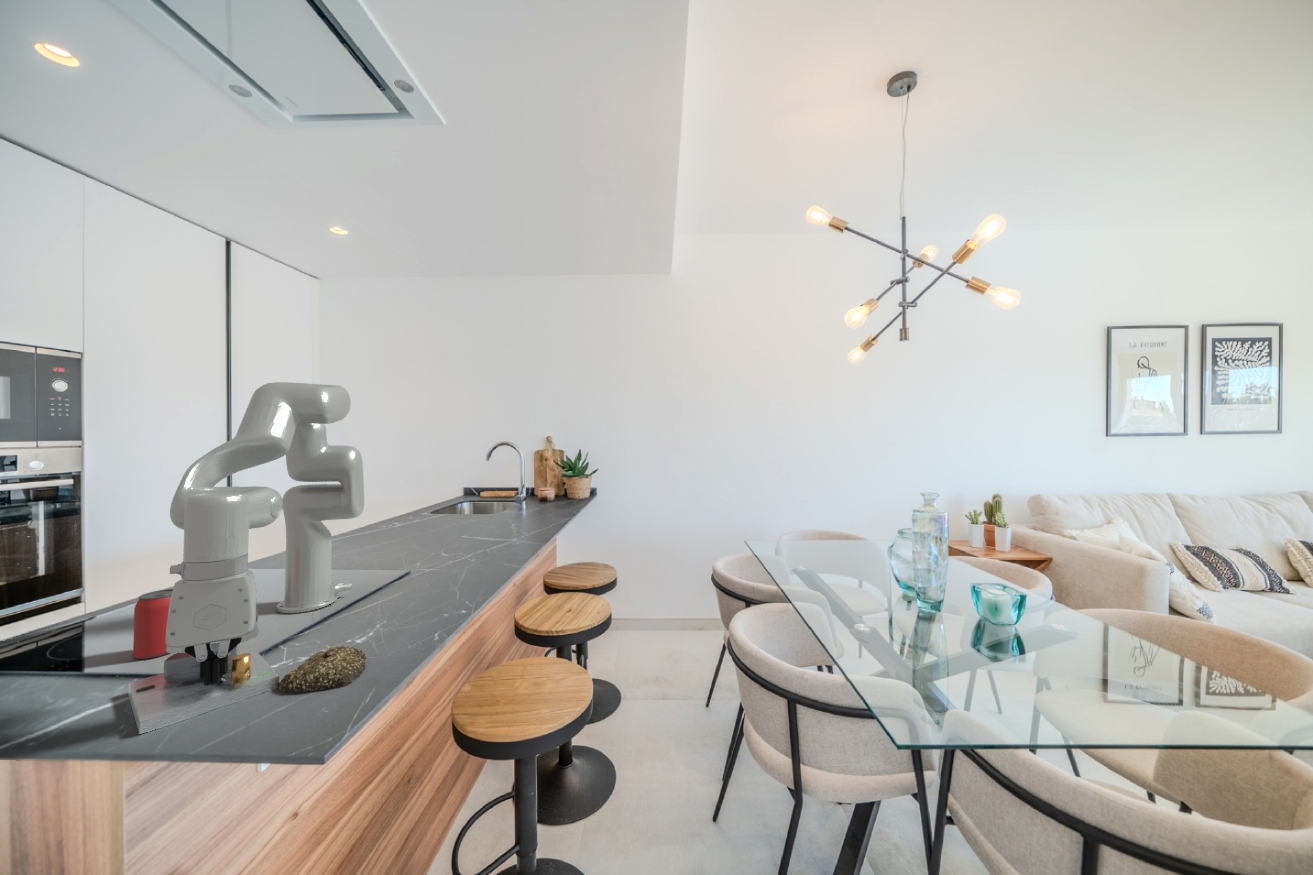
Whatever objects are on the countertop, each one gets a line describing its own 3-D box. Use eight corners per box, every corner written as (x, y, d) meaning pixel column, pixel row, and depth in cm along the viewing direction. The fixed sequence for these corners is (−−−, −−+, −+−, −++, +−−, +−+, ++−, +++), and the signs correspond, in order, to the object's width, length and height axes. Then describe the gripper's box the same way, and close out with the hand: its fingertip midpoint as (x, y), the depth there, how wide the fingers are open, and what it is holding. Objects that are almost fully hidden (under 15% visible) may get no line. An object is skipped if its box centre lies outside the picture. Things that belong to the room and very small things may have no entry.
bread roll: (347, 691, 77) (348, 663, 77) (267, 698, 75) (267, 669, 75) (379, 656, 90) (380, 632, 90) (311, 661, 87) (311, 636, 87)
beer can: (148, 662, 85) (150, 600, 86) (123, 658, 87) (125, 597, 87) (190, 646, 92) (192, 589, 92) (166, 643, 93) (168, 586, 93)
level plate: (253, 658, 88) (253, 644, 88) (279, 687, 78) (279, 672, 78) (128, 694, 75) (128, 679, 75) (139, 735, 65) (139, 717, 65)
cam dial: (151, 676, 75) (152, 652, 75) (218, 652, 84) (218, 631, 84) (210, 695, 70) (211, 670, 70) (275, 668, 78) (276, 646, 78)
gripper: (139, 581, 65) (135, 707, 64) (272, 567, 73) (270, 678, 73) (158, 569, 71) (155, 683, 71) (279, 556, 79) (277, 659, 79)
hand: (213, 680), depth 72 cm, fingers closed
